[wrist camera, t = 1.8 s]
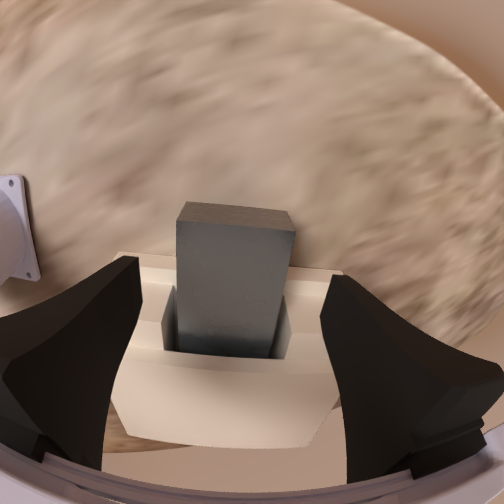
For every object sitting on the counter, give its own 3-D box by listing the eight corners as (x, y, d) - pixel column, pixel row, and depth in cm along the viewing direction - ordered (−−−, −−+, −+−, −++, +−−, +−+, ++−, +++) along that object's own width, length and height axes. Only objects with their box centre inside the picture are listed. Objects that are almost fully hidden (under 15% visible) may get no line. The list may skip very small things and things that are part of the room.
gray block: (187, 364, 20) (182, 392, 17) (186, 201, 14) (176, 220, 12) (256, 370, 20) (257, 397, 18) (286, 211, 15) (295, 231, 12)
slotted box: (297, 392, 24) (307, 447, 19) (141, 380, 23) (127, 435, 18) (341, 270, 18) (373, 332, 13) (118, 251, 17) (79, 309, 12)
